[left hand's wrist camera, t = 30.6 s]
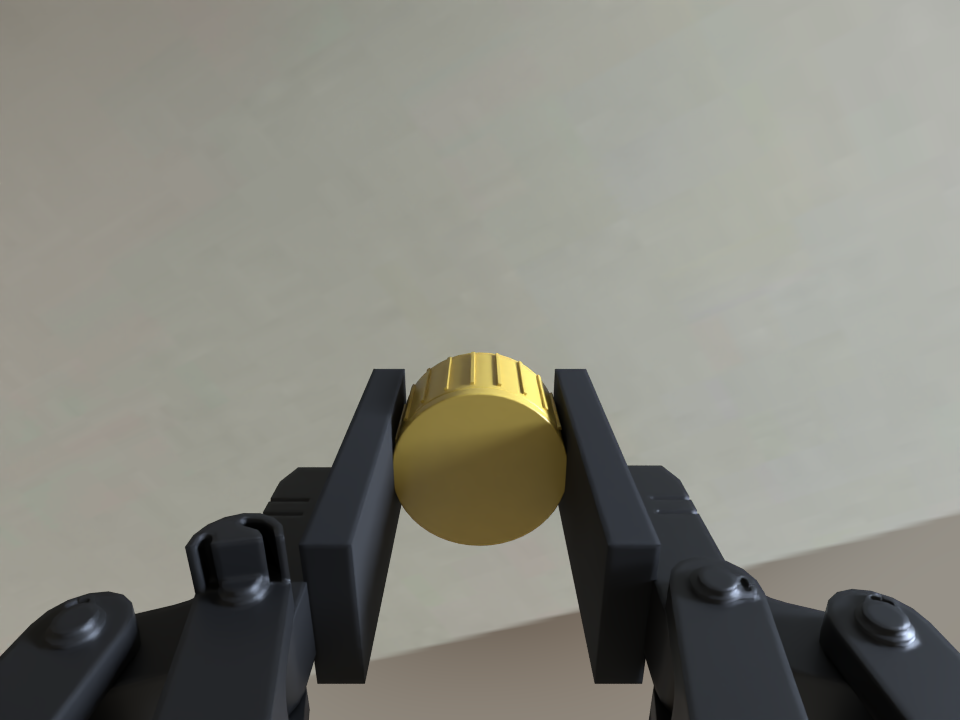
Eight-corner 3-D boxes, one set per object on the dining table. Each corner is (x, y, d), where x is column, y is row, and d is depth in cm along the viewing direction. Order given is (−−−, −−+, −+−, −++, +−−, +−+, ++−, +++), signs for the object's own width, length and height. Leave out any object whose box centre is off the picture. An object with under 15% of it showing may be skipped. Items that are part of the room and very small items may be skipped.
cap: (584, 446, 15) (602, 501, 13) (453, 511, 16) (449, 574, 14) (509, 320, 14) (515, 357, 12) (371, 397, 15) (352, 446, 12)
